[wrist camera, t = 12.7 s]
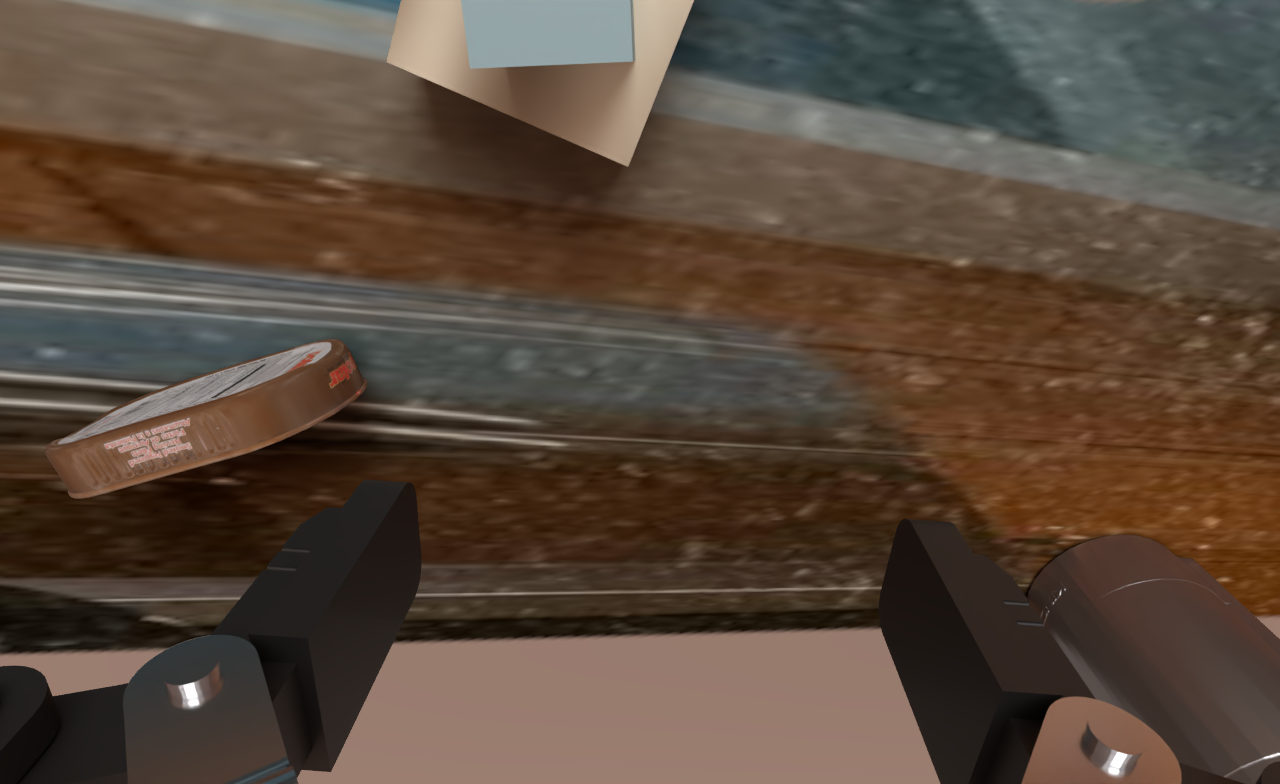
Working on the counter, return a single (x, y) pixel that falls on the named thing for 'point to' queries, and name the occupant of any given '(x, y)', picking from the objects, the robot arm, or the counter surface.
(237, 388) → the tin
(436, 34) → the birch block
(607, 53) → the blue-gray block
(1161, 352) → the counter surface
